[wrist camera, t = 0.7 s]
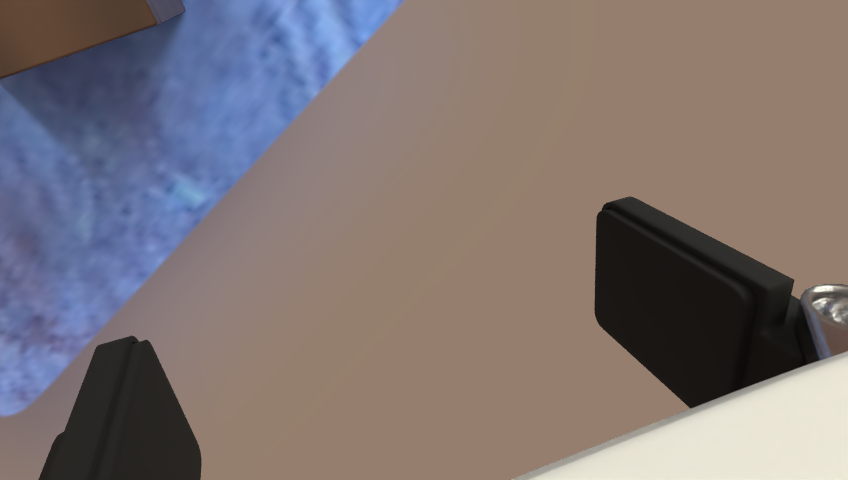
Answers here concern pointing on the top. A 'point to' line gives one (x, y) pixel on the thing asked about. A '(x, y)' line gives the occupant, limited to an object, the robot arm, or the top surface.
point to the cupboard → (70, 27)
